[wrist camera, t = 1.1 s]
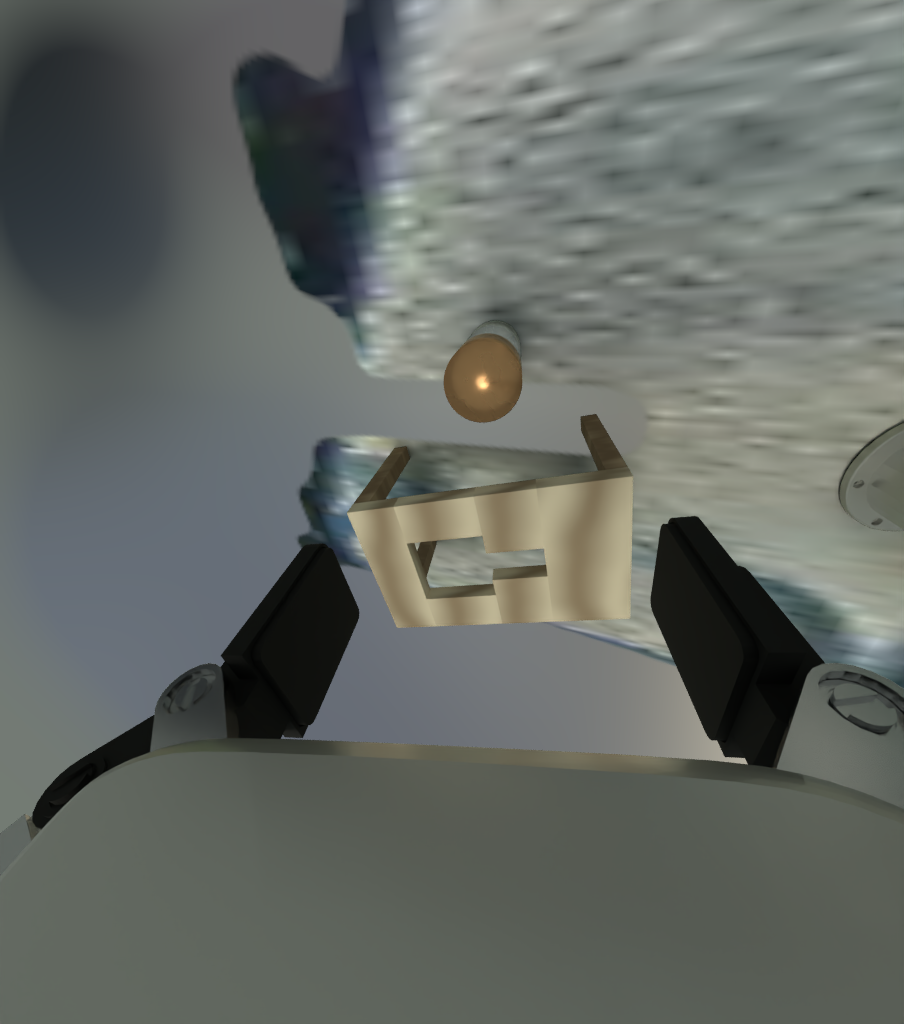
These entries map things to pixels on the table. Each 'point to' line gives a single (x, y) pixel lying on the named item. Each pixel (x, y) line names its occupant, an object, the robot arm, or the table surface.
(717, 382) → the table surface
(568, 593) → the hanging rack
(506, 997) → the robot arm
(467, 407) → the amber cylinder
